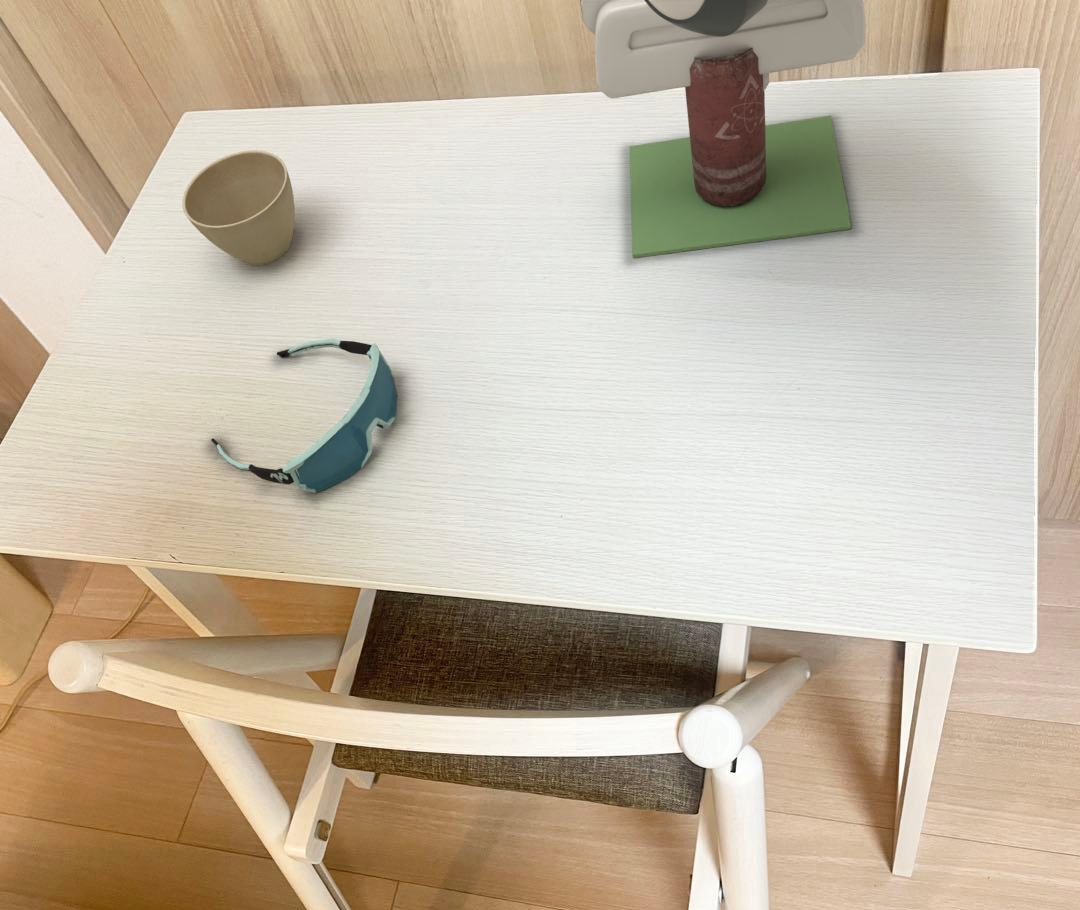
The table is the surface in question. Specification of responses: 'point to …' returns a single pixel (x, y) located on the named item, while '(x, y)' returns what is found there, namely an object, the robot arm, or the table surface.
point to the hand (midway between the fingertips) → (730, 118)
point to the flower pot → (244, 206)
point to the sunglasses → (338, 427)
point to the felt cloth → (776, 212)
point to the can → (727, 128)
